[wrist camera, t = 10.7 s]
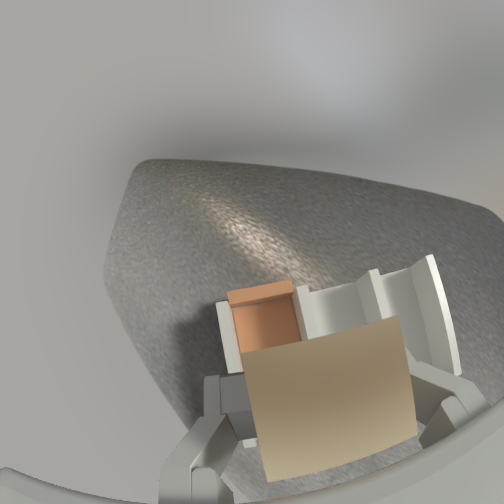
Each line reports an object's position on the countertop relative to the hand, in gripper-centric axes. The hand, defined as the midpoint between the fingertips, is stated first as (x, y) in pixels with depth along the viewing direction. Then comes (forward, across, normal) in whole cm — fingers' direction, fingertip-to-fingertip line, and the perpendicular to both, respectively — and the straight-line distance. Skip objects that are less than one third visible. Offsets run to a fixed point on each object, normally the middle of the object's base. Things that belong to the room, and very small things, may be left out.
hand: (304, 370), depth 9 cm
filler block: (+3, 0, +4) cm, 5 cm away
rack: (+13, -7, +14) cm, 20 cm away
